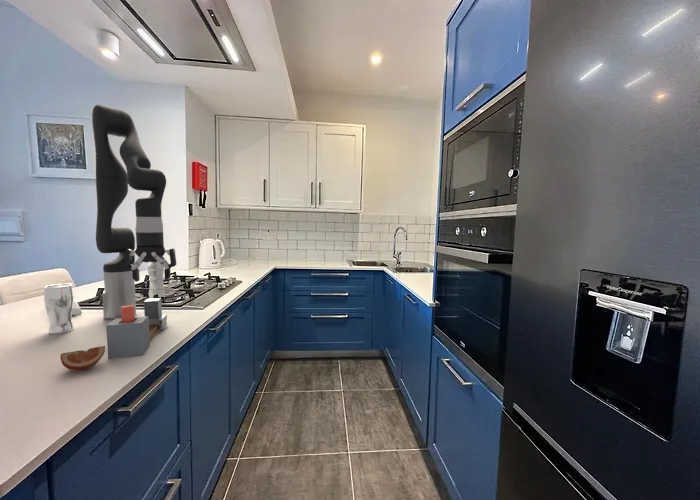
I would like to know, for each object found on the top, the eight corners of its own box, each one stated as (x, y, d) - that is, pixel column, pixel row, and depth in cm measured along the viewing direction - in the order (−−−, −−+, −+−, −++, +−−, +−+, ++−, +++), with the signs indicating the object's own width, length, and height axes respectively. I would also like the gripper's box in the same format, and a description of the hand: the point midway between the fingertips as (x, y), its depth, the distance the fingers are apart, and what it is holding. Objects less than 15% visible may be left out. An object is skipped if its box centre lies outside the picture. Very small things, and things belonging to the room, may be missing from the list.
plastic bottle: (158, 301, 140) (156, 257, 139) (145, 300, 142) (143, 256, 140) (169, 298, 147) (167, 255, 145) (156, 297, 148) (154, 255, 146)
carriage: (140, 331, 102) (138, 302, 101) (145, 325, 107) (144, 298, 106) (162, 330, 103) (161, 301, 103) (167, 324, 109) (166, 297, 108)
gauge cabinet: (107, 358, 83) (106, 325, 82) (117, 349, 89) (115, 318, 88) (142, 355, 85) (141, 322, 85) (149, 346, 91) (148, 316, 90)
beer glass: (80, 328, 105) (77, 284, 104) (55, 335, 98) (52, 288, 97) (67, 326, 107) (64, 282, 106) (41, 333, 101) (37, 286, 99)
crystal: (88, 304, 120) (79, 294, 137) (65, 298, 116) (59, 287, 132) (76, 323, 118) (69, 310, 135) (53, 317, 114) (48, 304, 130)
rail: (130, 347, 90) (129, 341, 90) (150, 326, 108) (150, 320, 108) (146, 346, 91) (145, 339, 91) (163, 325, 109) (163, 319, 109)
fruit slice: (105, 359, 83) (104, 341, 82) (107, 368, 78) (106, 349, 77) (61, 369, 77) (60, 349, 77) (61, 379, 72) (59, 358, 72)
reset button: (120, 333, 85) (118, 308, 84) (124, 330, 87) (123, 305, 87) (133, 332, 85) (131, 307, 85) (136, 329, 88) (135, 304, 88)
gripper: (176, 230, 108) (178, 277, 110) (128, 230, 104) (131, 279, 105) (171, 231, 101) (173, 281, 102) (119, 231, 97) (122, 283, 98)
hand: (152, 280), depth 104 cm, fingers open, 8 cm apart
